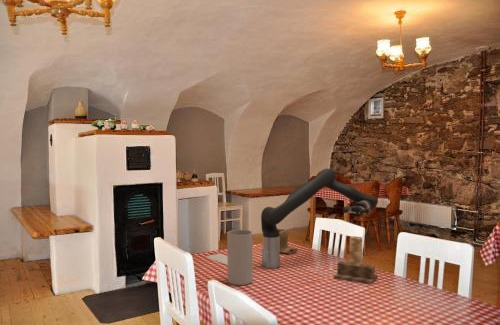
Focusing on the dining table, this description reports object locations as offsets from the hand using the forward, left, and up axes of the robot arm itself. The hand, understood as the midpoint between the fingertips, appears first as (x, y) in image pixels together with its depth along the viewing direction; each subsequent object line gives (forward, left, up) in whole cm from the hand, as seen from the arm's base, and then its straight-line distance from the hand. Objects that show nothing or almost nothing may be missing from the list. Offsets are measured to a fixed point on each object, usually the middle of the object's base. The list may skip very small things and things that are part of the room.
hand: (352, 211), depth 241 cm
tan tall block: (-6, -12, -25) cm, 28 cm away
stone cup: (-16, +50, -32) cm, 62 cm away
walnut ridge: (-6, -12, -32) cm, 35 cm away
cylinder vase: (-62, +7, -32) cm, 71 cm away
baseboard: (-56, +45, -33) cm, 79 cm away
